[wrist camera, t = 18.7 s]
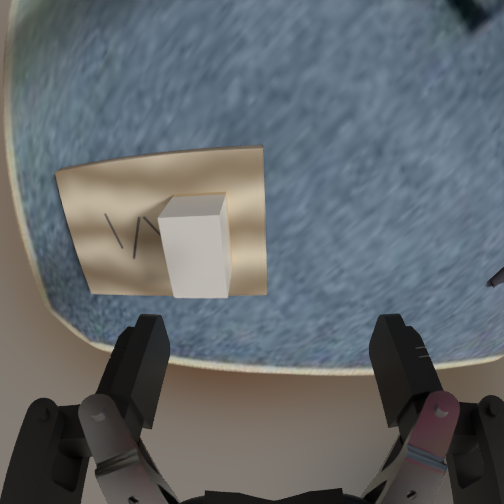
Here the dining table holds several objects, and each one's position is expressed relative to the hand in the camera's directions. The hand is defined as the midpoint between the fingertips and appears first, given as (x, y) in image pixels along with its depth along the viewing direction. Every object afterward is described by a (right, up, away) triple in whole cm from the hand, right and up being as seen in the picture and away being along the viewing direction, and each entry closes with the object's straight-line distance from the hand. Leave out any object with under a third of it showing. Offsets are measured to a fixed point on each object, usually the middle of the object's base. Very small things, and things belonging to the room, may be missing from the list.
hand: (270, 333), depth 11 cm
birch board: (-10, +6, +21) cm, 24 cm away
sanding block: (-5, +5, +19) cm, 21 cm away
